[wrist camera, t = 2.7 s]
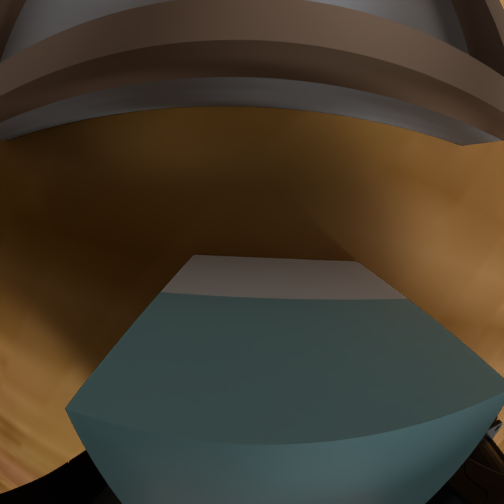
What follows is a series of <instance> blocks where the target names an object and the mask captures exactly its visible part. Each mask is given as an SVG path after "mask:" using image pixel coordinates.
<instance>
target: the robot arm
mask: <svg viewBox="0 0 504 504" xmlns="http://www.w3.org/2000/svg"><path fill="white" fill-rule="evenodd" d="M501 426H502V422H501V421H500V420H497V421H495V422H493V423H492V424H491V426H490V428H489V429H488V430H487V432H486V433H485V435H484V436H483V438H482V439H481V441H480V442H479V443H478V445H477V446H476V447H475V449H474V450H473V451H472V453H471V454H470V455H469V456H468V458H467V459H466V460H465V461H464V463H463V464H462V465H461V466H460V467H459V469H458V470H457V471H456V472H455V473H454V474H453V476H452V477H451V478H450V479H449V480H448V481H447V482H446V483H445V484H444V485H443V486H442V487H441V489H440V490H439V491H438V492H437V493H436V494H435V495H434V496H433V497H432V498H431V499H430V500H428V501H427V502H426V503H425V504H504V454H503V453H502V451H501V450H500V449H499V447H498V446H497V445H496V443H495V442H494V441H493V440H492V439H493V437H494V436H495V435H496V433H497V432H498V430H499V429H500V427H501ZM0 504H122V503H121V501H120V500H119V499H118V497H117V496H116V495H115V493H114V492H113V491H112V489H111V488H110V486H109V485H108V484H107V482H106V481H105V479H104V478H103V476H102V475H101V473H100V472H99V470H98V468H97V467H96V465H95V464H94V462H93V460H92V459H91V457H90V455H89V454H88V452H87V450H85V451H83V452H82V453H80V454H79V455H77V456H76V457H74V458H73V459H71V460H70V461H69V463H68V462H67V463H65V464H64V465H62V466H60V467H59V468H57V469H55V470H54V471H52V472H50V473H49V474H47V475H45V476H43V477H41V478H39V479H37V480H34V481H32V482H30V483H28V484H25V485H23V486H20V487H18V488H15V489H13V490H10V491H7V492H4V493H1V494H0Z"/></svg>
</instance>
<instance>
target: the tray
mask: <svg viewBox="0 0 504 504" xmlns="http://www.w3.org/2000/svg"><path fill="white" fill-rule="evenodd" d="M198 106H248V107H270V108H284V109H295V110H305V111H314V112H322V113H329V114H336V115H342V116H348V117H354V118H360V119H365V120H370V121H375V122H380V123H384V124H389V125H393V126H397V127H401V128H405V129H409V130H413V131H416V132H420V133H424V134H427V135H430V136H434V137H437V138H440V139H443V140H446V141H449V142H452V143H455V144H458V145H461V146H464V145H471V144H479V143H486V142H494V141H503V140H504V9H503V7H502V5H501V3H500V1H499V0H0V140H10V139H13V138H16V137H19V136H22V135H25V134H29V133H32V132H35V131H39V130H42V129H46V128H50V127H54V126H58V125H62V124H66V123H70V122H75V121H80V120H85V119H90V118H95V117H101V116H106V115H113V114H119V113H126V112H134V111H143V110H152V109H163V108H177V107H198Z"/></svg>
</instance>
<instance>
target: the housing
mask: <svg viewBox="0 0 504 504" xmlns="http://www.w3.org/2000/svg"><path fill="white" fill-rule="evenodd" d="M503 405H504V378H503V377H502V376H501V375H500V374H498V373H497V372H496V371H495V370H494V369H493V368H492V367H491V366H490V365H488V364H487V363H486V362H485V361H484V360H483V359H482V358H480V357H479V356H478V355H477V354H476V353H475V352H473V351H472V350H471V349H470V348H469V347H468V346H466V345H465V344H464V343H463V342H462V341H460V340H459V339H458V338H457V337H456V336H454V335H453V334H452V333H451V332H449V331H448V330H447V329H446V328H445V327H443V326H442V325H441V324H440V323H438V322H437V321H436V320H435V319H433V318H432V317H431V316H430V315H428V314H427V313H426V312H424V311H423V310H422V309H421V308H419V307H418V306H417V305H415V304H414V303H413V302H412V301H410V300H409V299H408V298H406V297H405V296H404V295H402V294H401V293H400V292H398V291H397V290H396V289H394V288H393V287H392V286H390V285H389V284H388V283H386V282H385V281H384V280H382V279H381V278H379V277H378V276H377V275H375V274H374V273H373V272H371V271H370V270H368V269H367V268H366V267H364V266H363V265H361V264H360V263H359V262H357V261H332V260H306V259H282V258H258V257H234V256H212V255H193V256H192V257H191V258H190V259H189V261H188V262H187V263H186V264H185V265H184V266H183V267H182V268H181V269H180V271H179V272H178V273H177V274H176V275H175V276H174V277H173V278H172V279H171V281H170V282H169V283H168V284H167V285H166V286H165V287H164V288H163V290H162V291H161V292H160V293H159V294H158V295H157V296H156V298H155V299H154V300H153V301H152V302H151V303H150V304H149V306H148V307H147V308H146V309H145V310H144V311H143V313H142V314H141V315H140V316H139V317H138V318H137V320H136V321H135V322H134V323H133V324H132V325H131V327H130V328H129V329H128V330H127V331H126V333H125V334H124V335H123V336H122V337H121V339H120V340H119V341H118V342H117V343H116V345H115V346H114V347H113V348H112V349H111V351H110V352H109V353H108V354H107V355H106V357H105V358H104V359H103V360H102V362H101V363H100V364H99V365H98V367H97V368H96V369H95V370H94V372H93V373H92V374H91V375H90V377H89V378H88V379H87V380H86V382H85V383H84V384H83V386H82V387H81V388H80V389H79V391H78V392H77V393H76V395H75V396H74V397H73V398H72V400H71V401H70V402H69V404H68V405H67V406H66V408H65V409H66V412H67V414H68V416H69V418H70V420H71V422H72V424H73V426H74V428H75V430H76V432H77V434H78V436H79V438H80V440H81V441H82V443H83V445H84V447H85V449H86V450H87V452H88V454H89V455H90V457H91V459H92V460H93V462H94V464H95V465H96V467H97V468H98V470H99V472H100V473H101V475H102V476H103V478H104V479H105V481H106V482H107V484H108V485H109V486H110V488H111V489H112V491H113V492H114V493H115V495H116V496H117V497H118V499H119V500H120V501H121V503H122V504H425V503H426V502H427V501H428V500H430V499H431V498H432V497H433V496H434V495H435V494H436V493H437V492H438V491H439V490H440V489H441V487H442V486H443V485H444V484H445V483H446V482H447V481H448V480H449V479H450V478H451V477H452V476H453V474H454V473H455V472H456V471H457V470H458V469H459V467H460V466H461V465H462V464H463V463H464V461H465V460H466V459H467V458H468V456H469V455H470V454H471V453H472V451H473V450H474V449H475V447H476V446H477V445H478V443H479V442H480V441H481V439H482V438H483V436H484V435H485V433H486V432H487V430H488V429H489V428H490V426H491V424H492V423H493V421H494V420H495V418H496V417H497V415H498V413H499V412H500V410H501V408H502V407H503Z"/></svg>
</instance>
